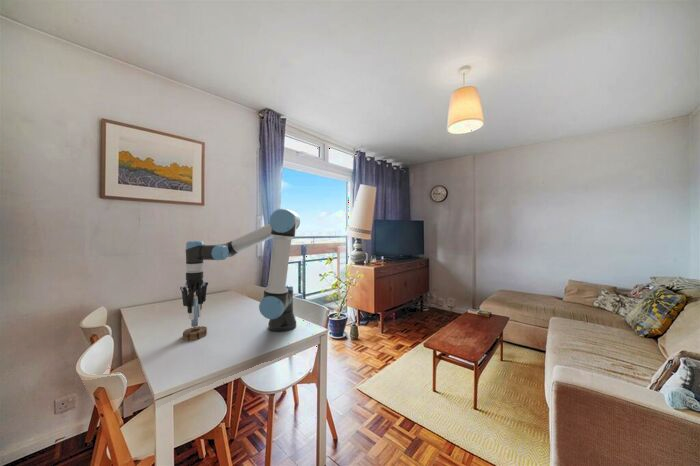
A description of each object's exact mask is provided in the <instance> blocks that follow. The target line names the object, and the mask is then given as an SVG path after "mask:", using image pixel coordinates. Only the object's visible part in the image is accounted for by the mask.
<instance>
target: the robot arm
mask: <svg viewBox="0 0 700 466" xmlns="http://www.w3.org/2000/svg"><path fill="white" fill-rule="evenodd" d="M300 225H301V217H300V215H299V213H297V212H296V211H294V210H291V209H290V208H289V209H288V208H286V207H285V208H278V209H275V210H274V211H273V212H272V213H271V214H270V217H269V224H266V225H264V226H262V227H259V228H257V229H255V230H253V231H251V232H248V233H246V234H244V235H242V236H240V237H238V238H235V239H233V240H231V241H228V242H226V243H221V244H207V245H206V244H204V241H203V240H188V241H186V243H185V271H186V272H185V285H183V286H180V287H179V288H180V289H179V290H180V291H181V296H182V297H181V298H182V305H183V307H187V314H188V320H190V321H191V320H193V319H194V306H192V305H193V297H194V295H196V296H197V297H198V318H201V314H202V313H201V310H202V308H203V304H204V302H206V300H207V289H208V285H209V282H206V281H204V261H224V260H226V259H227V258H232V257H235V256H236V255H237V254H239V253H241V252H243V251H245V250H248V249H250V248H252V247H254V246H256V245H258V244H261V243H264V242H266V241H267V240H271V239H272V238H273V241H272V249H271V255H270V256H271V258H270V264H269V274H268V275H269V276H268V283H267V286H266V287H265V288H264V289H263V297H262V299H261V300H260V302H259V305H258V310H259V313H260V314H261V315H262V316H263V317H264V318H266V319H267V320H269V321H268V325H267V326H268V330H269V331H271V332H276V333H278V332H280V333H281V332H283V333H284V332H288V331H290V330H293V329H295V328H296V327H297V319H296V317H295V314H294V288H293V287H294V286H293V285H291V284H287V278H288V270H289V268H288V267H289V260H290V253H291V245H292V240H293V239H294V238H295V237H296V232H297V231H296V230H298V229H299V227H300Z"/></svg>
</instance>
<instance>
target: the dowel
mask: <svg viewBox="0 0 700 466" xmlns="http://www.w3.org/2000/svg"><path fill="white" fill-rule="evenodd" d="M192 306H194V319H193V320H191V319H190V321H191V323H190V324H191V325H190V326H191V328H193V327H197V326H198V325H199V317H198V297H197V296H196V294H194V297H193V305H192Z"/></svg>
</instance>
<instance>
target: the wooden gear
mask: <svg viewBox="0 0 700 466" xmlns="http://www.w3.org/2000/svg"><path fill="white" fill-rule="evenodd" d="M207 334H208V327H206V326H203V325H202V326H201V325H199V326H195V327H189V328H187V329H185V330H183V332H182V340H184V341H195V340H201V339H202V338H205V337H206V336H207Z"/></svg>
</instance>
